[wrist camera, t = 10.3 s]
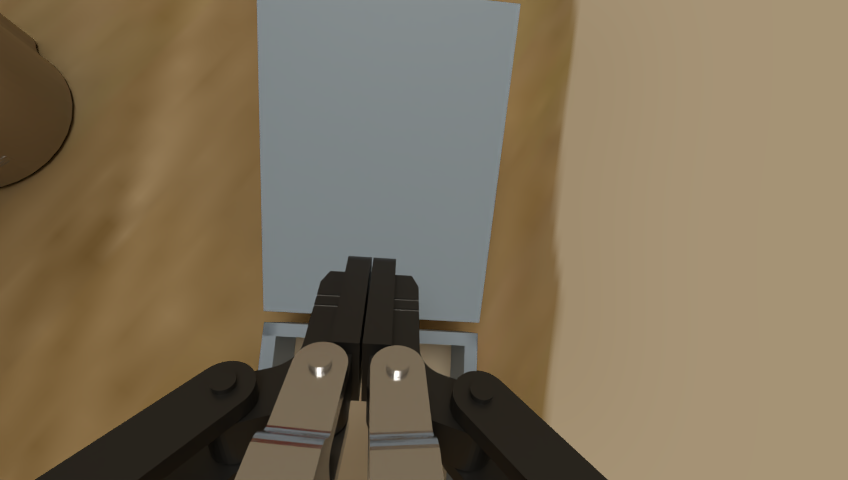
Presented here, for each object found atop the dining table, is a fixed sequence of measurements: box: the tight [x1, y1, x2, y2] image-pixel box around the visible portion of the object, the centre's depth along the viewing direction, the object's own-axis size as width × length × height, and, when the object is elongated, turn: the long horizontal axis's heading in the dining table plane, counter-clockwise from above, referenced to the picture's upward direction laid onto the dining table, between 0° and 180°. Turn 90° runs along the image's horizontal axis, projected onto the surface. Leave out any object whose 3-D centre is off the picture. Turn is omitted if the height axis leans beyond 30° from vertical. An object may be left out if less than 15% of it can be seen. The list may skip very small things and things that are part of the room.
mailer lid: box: [257, 0, 520, 323], centre depth 18 cm, size 14×10×1 cm
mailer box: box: [258, 322, 478, 480], centre depth 21 cm, size 14×10×5 cm
